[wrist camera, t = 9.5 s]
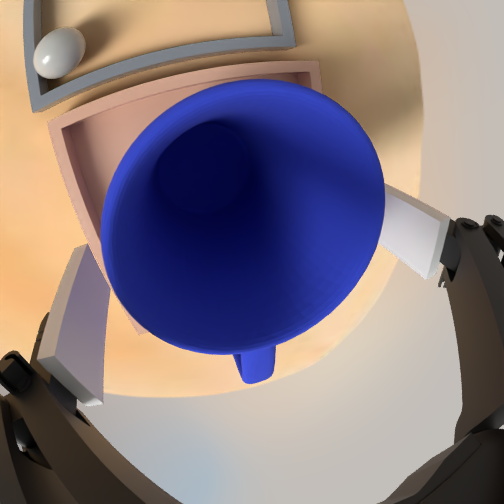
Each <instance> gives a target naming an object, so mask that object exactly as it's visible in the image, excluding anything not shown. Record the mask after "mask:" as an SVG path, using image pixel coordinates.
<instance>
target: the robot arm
mask: <svg viewBox="0 0 504 504" xmlns="http://www.w3.org/2000/svg"><path fill="white" fill-rule="evenodd" d="M384 185H385V213H384V220H383V225H382V230H381V235H380V238H379V241H378V243H379V244H380V245H382V246H383V247H384V248H386V249H387V250H388V251H390V252H391V253H392V254H394V255H395V256H396V257H398V258H399V259H400V260H402V261H403V262H404V263H405V264H407V265H408V266H409V267H410V268H412V269H413V270H414V271H415V272H417V273H418V274H419V275H420V276H422V277H423V278H424V279H425V280H427V279H428V278H430V277H432V276H433V275H435V274H436V272H437V269H438V265H439V262H441V263H442V264H443V265H444V268H443V271H442V274H441V277H440V281H439V283H438V287H441V284H442V282H444V281H445V283H444V286H443V287H445V288H447V292H448V297H449V301H450V305H451V310H452V315H453V320H454V326H455V331H456V338H457V344H458V351H459V359H460V370H461V382H462V402H463V406H462V412H461V415H460V417H459V419H458V421H457V424H456V428H455V438H454V445H452V446H451V447H449V448H448V449H446V450H445V451H443V452H441V453H440V454H438V455H436V456H435V457H433V458H431V459H430V460H429V461H428V462H426V463H425V464H424V465H423V466H421V467H420V468H419V469H418V470H416V471H415V472H414V473H412V474H411V475H410V476H408V477H407V478H406V479H405V481H404V482H403V483H402V484H401V485H400V486H399V487H398V488H397V489H396V490H395V491H394V492H393V493H392V494H391V495H390V496H389V497H388V498H387V499H386V500H385V501H383V502H380V503H378V504H504V429H499V428H500V427H501V426H502V425H504V255H503V258H502V260H501V262H500V260H499V258H498V256H499V253H500V250H502V251H503V252H504V221H503V220H502V219H501V218H499V217H498V216H495V215H487V216H486V217H485V220H484V224H483V225H482V226H479V224H478V223H477V222H475V221H473V220H471V219H467V218H458V219H457V220H456V221H453V220H451V219H450V217H449V216H447V215H445V214H443V213H442V212H440V211H438V210H436V209H434V208H433V207H431V206H429V205H427V204H425V203H423V202H422V201H420V200H418V199H416V198H414V197H412V196H410V195H408V194H406V193H404V192H402V191H400V190H398V189H396V188H394V187H392V186H390V185H387V184H385V183H384ZM109 297H110V287H109V285H108V283H107V282H106V280H105V278H104V276H103V274H102V272H101V270H100V268H99V266H98V264H97V262H96V260H95V258H94V256H93V254H92V252H91V250H90V247H89V245H88V243H87V244H85V245H82V246H80V247H77V248H75V249H74V251H73V253H72V255H71V258H70V260H69V262H68V265H67V267H66V270H65V272H64V275H63V277H62V280H61V282H60V285H59V287H58V290H57V293H56V296H55V298H54V301H53V304H52V307H51V310H50V312H48V313H47V314H46V316H45V317H44V319H43V320H42V322H41V324H40V328H39V331H38V333H39V334H37V338H36V342H35V345H34V348H33V352H32V356H31V360H30V364H29V363H28V362H27V361H26V360H25V359H24V358H23V357H22V356H21V355H20V354H19V352H18V351H11V352H8V353H7V354H6V355H5V356H3V358H2V359H1V360H0V384H1V385H2V386H3V387H4V388H5V389H6V390H8V391H9V392H10V393H9V394H8V395H6V396H4V397H3V396H2V395H1V394H0V504H182V503H181V502H179V501H178V500H176V499H175V498H174V497H172V496H170V495H169V494H168V493H167V492H165V491H164V490H163V489H161V488H160V487H159V486H157V485H156V484H155V483H153V482H152V481H151V480H150V479H149V478H147V477H146V476H145V475H144V474H143V473H141V472H140V471H139V470H138V469H137V468H135V467H134V466H133V465H132V464H131V463H130V462H129V461H128V460H127V459H126V458H124V457H123V456H122V455H121V454H120V453H119V452H118V451H117V450H116V449H115V448H114V447H113V446H112V445H111V444H110V443H109V442H108V441H107V440H106V439H105V438H104V436H103V435H102V434H101V433H100V432H99V431H98V430H97V429H96V428H95V427H94V426H93V425H92V423H91V422H90V421H89V420H88V419H87V418H86V416H85V415H84V414H83V413H82V412H81V411H80V410H79V409H77V408H76V406H77V399H78V400H79V401H80V402H82V403H83V404H84V405H85V406H94V405H99V404H103V374H104V349H105V335H106V323H107V314H108V305H109ZM17 443H18V444H20V445H22V449H23V452H22V451H20V450H19V447H18V445H17Z"/></svg>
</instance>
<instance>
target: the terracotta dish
mask: <svg viewBox="0 0 504 504" xmlns="http://www.w3.org/2000/svg"><path fill="white" fill-rule="evenodd" d="M247 79H272V80H282V81H287V82H291V83H296V84H299V85H302V86H305V87H308V88H311V89H313V90H315V91H317V92H319V93H321V94H323V91H322V83H321V75H320V68H319V61H271V62H257V63H246V64H237V65H229V66H222V67H215V68H209V69H203V70H198V71H193V72H188V73H183V74H179V75H174V76H170V77H166V78H162V79H158V80H154V81H151V82H147V83H144V84H140V85H137V86H134V87H130V88H127V89H124V90H121V91H118V92H116V93H113V94H110V95H107V96H105V97H102V98H99V99H97V100H94V101H92V102H89V103H87V104H84V105H82V106H80V107H77V108H75V109H73V110H71V111H69V112H66V113H64V114H62V115H60V116H58V117H56V118H54V119H52V120H50V121H48V122H47V124H48V129H49V133H50V137H51V140H52V144H53V148H54V151H55V155H56V158H57V161H58V165H59V168H60V171H61V174H62V177H63V180H64V183H65V186H66V189H67V191H68V194H69V197H70V199H71V202H72V205H73V207H74V210H75V212H76V215H77V217H78V220H79V222H80V225H81V227H82V229H83V232H84V234H85V236H86V238H87V241H88V243H89V245H90V247H91V249H92V251H93V253H94V256H95V258H96V260H97V262H98V264H99V266H100V268H101V270H102V272H103V274H104V276H105V278H106V279H107V281H108V283H109V285H110V287H111V289H112V291H113V292H114V290H113V288H112V286H111V283H110V281H109V279H108V276H107V273H106V269H105V266H104V261H103V256H102V251H101V236H100V234H101V218H102V212H103V206H104V201H105V197H106V193H107V190H108V188H109V185H110V182H111V180H112V178H113V175H114V173H115V171H116V169H117V167H118V165H119V163H120V161H121V160H122V158H123V156H124V155H125V153H126V152H127V150H128V149H129V147H130V146H131V144H132V143H133V142H134V141H135V139H136V138H137V137H138V136H139V135H140V134H141V132H142V131H143V130H144V129H145V128H146V127H147V126H148V125H149V124H150V123H151V122H152V121H153V120H155V119H156V118H157V117H158V116H159V115H161V114H162V113H163V112H164V111H166V110H167V109H169V108H170V107H171V106H173V105H174V104H176V103H178V102H179V101H181V100H183V99H185V98H186V97H188V96H190V95H192V94H195V93H197V92H199V91H201V90H204V89H207V88H209V87H212V86H216V85H219V84H223V83H227V82H232V81H238V80H247ZM114 294H115V292H114ZM115 296H116V294H115ZM116 298H117V300H118V301H119V299H118V297H117V296H116ZM119 303H120V305H121V307H122V308H123V310H124V312H125V313H126V315H127V317H128V318H129V320H130V322H131V323H132V325H133V327H134V328H135V330H136V331H137V333H138V334H139V335H140V334H144V333H147V332H149V331H147V330H146V329H145V328H143V327H142V326H141V325H140V324H139V323H138V322H137V321H136V320H135V319H134V318H133V317H132V316H131V315H130V314H129V313H128V311H127V310H126V309H125V308H124V306H123V305H122V304H121V302H120V301H119Z"/></svg>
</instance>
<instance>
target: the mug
mask: <svg viewBox="0 0 504 504" xmlns="http://www.w3.org/2000/svg"><path fill="white" fill-rule="evenodd" d="M384 213H385V185H384V178H383V173H382V169H381V165H380V162H379V159H378V156H377V153H376V151H375V149H374V147H373V144H372V142H371V140H370V139H369V137H368V136H367V134H366V133H365V131H364V130H363V128H362V127H361V126H360V124H359V123H358V122H357V121H356V120H355V118H354V117H353V116H352V115H351V114H350V113H349V112H348V111H346V110H345V109H344V108H343V107H342V106H340V105H339V104H338V103H336V102H335V101H333V100H332V99H330V98H329V97H327V96H325V95H323V94H321V93H319V92H317V91H315V90H313V89H311V88H308V87H305V86H302V85H299V84H296V83H291V82H287V81H282V80H272V79H247V80H238V81H232V82H227V83H223V84H219V85H216V86H212V87H209V88H207V89H204V90H201V91H199V92H197V93H195V94H192V95H190V96H188V97H186V98H185V99H183V100H181V101H179V102H178V103H176V104H174V105H173V106H171V107H170V108H169V109H167V110H166V111H164V112H163V113H162V114H161V115H159V116H158V117H157V118H156V119H155V120H153V121H152V122H151V123H150V124H149V125H148V126H147V127H146V128H145V129H144V130H143V131H142V132H141V134H140V135H139V136H138V137H137V138H136V139H135V141H134V142H133V143H132V144H131V146H130V147H129V149H128V150H127V152H126V153H125V155H124V156H123V158H122V160H121V161H120V163H119V165H118V167H117V169H116V171H115V173H114V175H113V178H112V180H111V182H110V185H109V188H108V190H107V193H106V197H105V201H104V206H103V212H102V218H101V234H100V236H101V251H102V256H103V261H104V266H105V269H106V273H107V276H108V279H109V281H110V283H111V286H112V288H113V290H114V292H115V294H116V296H117V297H118V299H119V301H120V302H121V304H122V305H123V306H124V308H125V309H126V310H127V311H128V313H129V314H130V315H131V316H132V317H133V318H134V319H135V320H136V321H137V322H138V323H139V324H140V325H141V326H142V327H143V328H145V329H146V330H147V331H149V332H150V333H152V334H153V335H155V336H156V337H158V338H160V339H161V340H163V341H165V342H167V343H169V344H172V345H174V346H177V347H179V348H182V349H186V350H190V351H194V352H198V353H205V354H216V355H230V354H233V356H234V359H235V362H236V365H237V368H238V370H239V373H240V376H241V378H242V380H243V381H244V382H245V383H247V384H253V383H257V382H260V381H263V380H266V379H268V378H269V377H271V376H272V374H273V371H274V365H275V352H276V345H278V344H280V343H283V342H286V341H288V340H290V339H292V338H294V337H296V336H298V335H299V334H301V333H303V332H305V331H307V330H308V329H310V328H311V327H313V326H314V325H316V324H317V323H318V322H320V321H321V320H322V319H324V318H325V317H326V316H327V315H329V314H330V313H331V312H332V311H333V310H334V309H335V308H336V307H337V306H338V305H339V304H340V303H341V302H342V301H343V300H344V299H345V298H346V297H347V296H348V294H349V293H350V292H351V291H352V290H353V288H354V287H355V286H356V284H357V283H358V281H359V280H360V278H361V277H362V275H363V273H364V272H365V270H366V269H367V267H368V265H369V263H370V261H371V259H372V256H373V254H374V252H375V250H376V247H377V244H378V241H379V238H380V235H381V230H382V225H383V220H384Z"/></svg>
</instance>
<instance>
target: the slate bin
mask: <svg viewBox="0 0 504 504" xmlns="http://www.w3.org/2000/svg"><path fill="white" fill-rule="evenodd" d="M266 2H267V7H268V13H269V18H270V23H271V29H272V34H273V36H264V37H245V38H233V39H223V40H215V41H207V42H201V43H194V44H189V45H183V46H178V47H173V48H169V49H164V50H160V51H156V52H152V53H148V54H144V55H141V56H137V57H134V58H131V59H127V60H124V61H121V62H118V63H115V64H112V65H109V66H107V67H104V68H101V69H98V70H96V71H93V72H91V73H88V74H86V75H84V76H81V77H79V78H77V79H74V80H72V81H70V82H68V83H65V84H63V85H61V86H59V87H57V88H55V89H53V90H51V91H48V85H47V78H44V77H42V76H41V75H39V74H38V73H37V72H36V70H35V68H34V64H33V56H34V52H35V49H36V47H37V45H38V44H39V42H40V41H41V40H42V24H41V0H24V10H23V39H24V56H25V67H26V75H27V83H28V90H29V96H30V102H31V107H32V112H33V113H37V112H43V111H45V110H47V109H49V108H51V107H53V106H55V105H57V104H59V103H61V102H63V101H65V100H67V99H69V98H71V97H74V96H76V95H78V94H80V93H83V92H85V91H88V90H90V89H92V88H95V87H98V86H100V85H103V84H105V83H108V82H111V81H114V80H117V79H120V78H123V77H126V76H129V75H132V74H135V73H139V72H142V71H146V70H149V69H153V68H157V67H161V66H165V65H169V64H173V63H178V62H183V61H188V60H193V59H198V58H204V57H211V56H217V55H225V54H233V53H243V52H255V51H274V50H288V49H291V48H294V47H296V43H295V37H294V31H293V26H292V20H291V15H290V10H289V5H288V0H266Z"/></svg>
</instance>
